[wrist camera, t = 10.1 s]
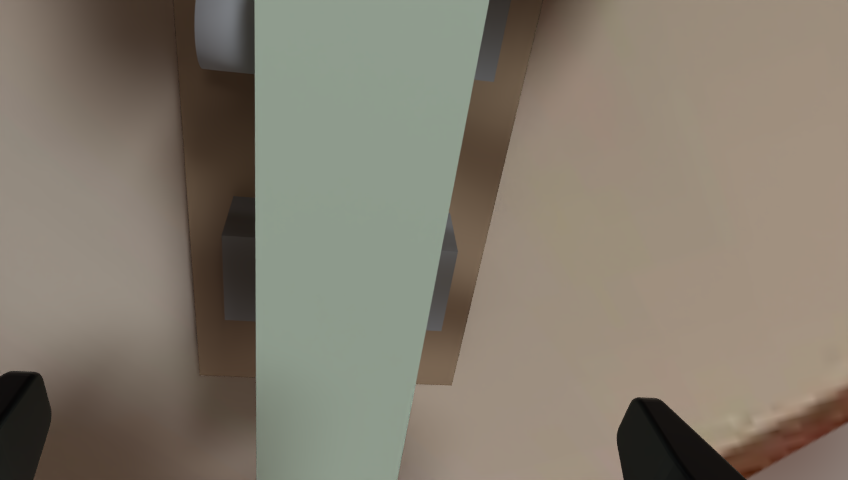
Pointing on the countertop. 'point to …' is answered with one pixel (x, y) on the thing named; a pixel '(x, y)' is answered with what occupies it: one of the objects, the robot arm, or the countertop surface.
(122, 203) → the countertop surface
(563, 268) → the countertop surface
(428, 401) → the countertop surface
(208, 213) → the board
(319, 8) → the door
